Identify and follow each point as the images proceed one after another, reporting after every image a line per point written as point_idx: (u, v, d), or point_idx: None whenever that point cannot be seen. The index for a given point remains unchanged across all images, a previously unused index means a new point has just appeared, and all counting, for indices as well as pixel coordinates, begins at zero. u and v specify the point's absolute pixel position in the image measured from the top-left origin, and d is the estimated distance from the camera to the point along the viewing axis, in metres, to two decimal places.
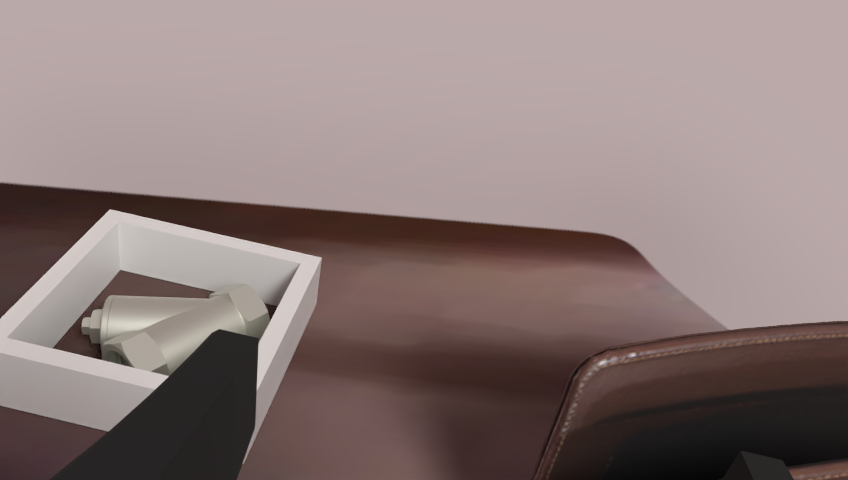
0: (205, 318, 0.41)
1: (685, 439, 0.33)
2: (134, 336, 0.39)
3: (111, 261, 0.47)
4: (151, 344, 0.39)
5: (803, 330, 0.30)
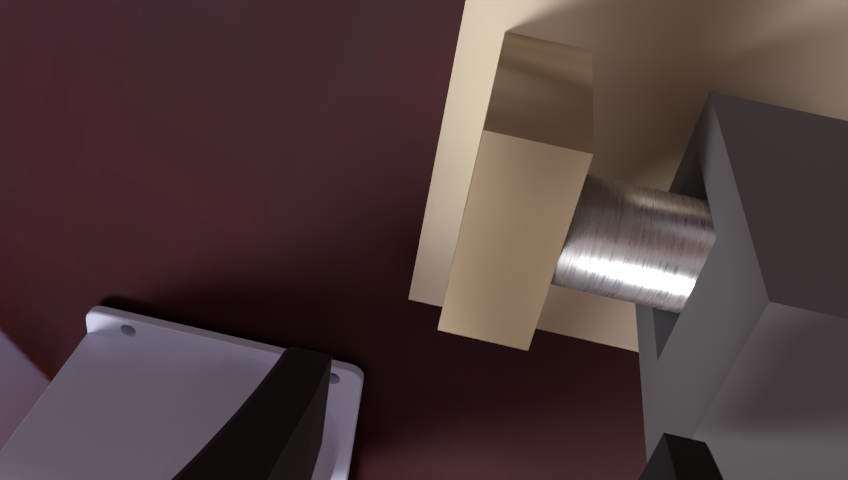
0: None
1: None
2: None
3: None
4: None
5: None
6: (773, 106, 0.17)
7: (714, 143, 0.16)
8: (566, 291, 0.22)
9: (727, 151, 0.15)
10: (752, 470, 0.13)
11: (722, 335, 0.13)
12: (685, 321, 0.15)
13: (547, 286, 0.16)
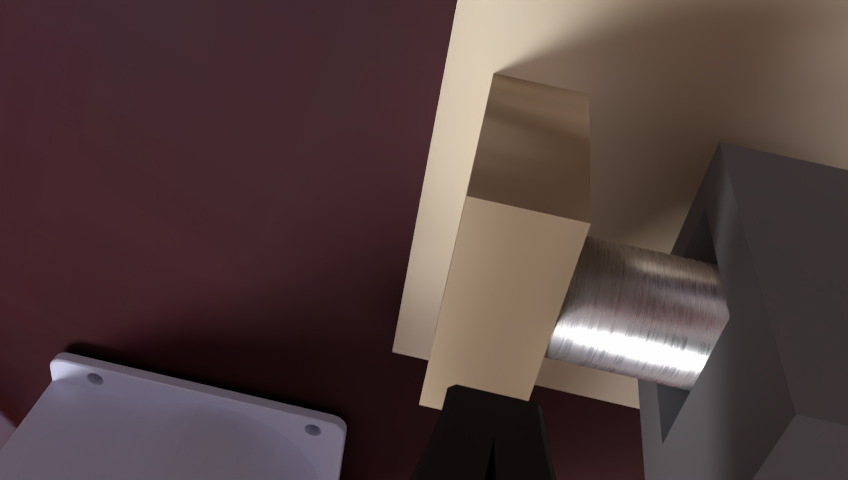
0: None
1: None
2: None
3: None
4: None
5: None
6: (789, 159, 0.15)
7: (725, 203, 0.14)
8: None
9: (741, 216, 0.13)
10: None
11: (739, 438, 0.11)
12: (694, 406, 0.13)
13: (540, 362, 0.14)
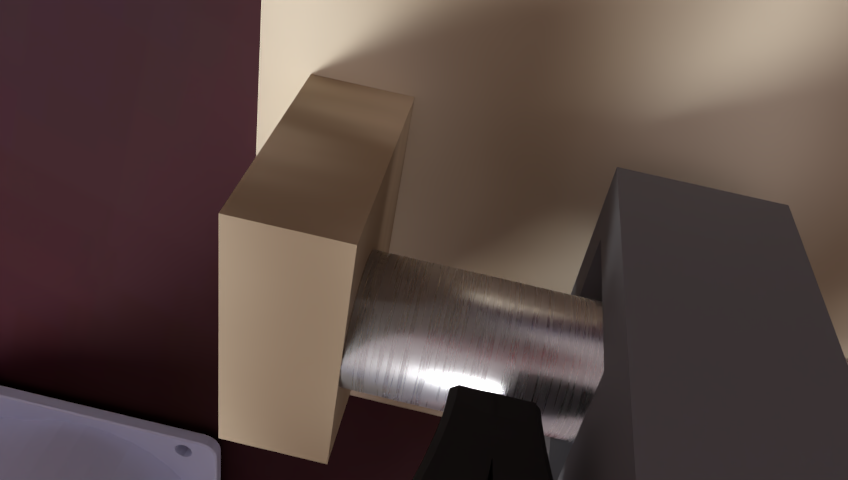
0: None
1: None
2: None
3: None
4: None
5: None
6: (694, 186, 0.14)
7: (614, 238, 0.13)
8: None
9: (623, 256, 0.12)
10: None
11: None
12: (571, 468, 0.12)
13: (334, 394, 0.13)
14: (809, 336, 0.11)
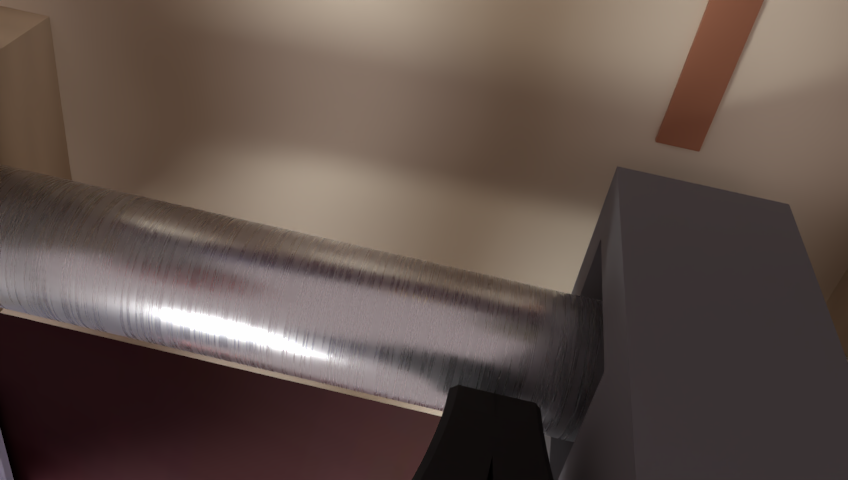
0: None
1: None
2: None
3: None
4: None
5: None
6: (694, 185, 0.14)
7: (614, 237, 0.13)
8: None
9: (623, 255, 0.12)
10: None
11: None
12: (571, 468, 0.12)
13: None
14: (810, 335, 0.11)
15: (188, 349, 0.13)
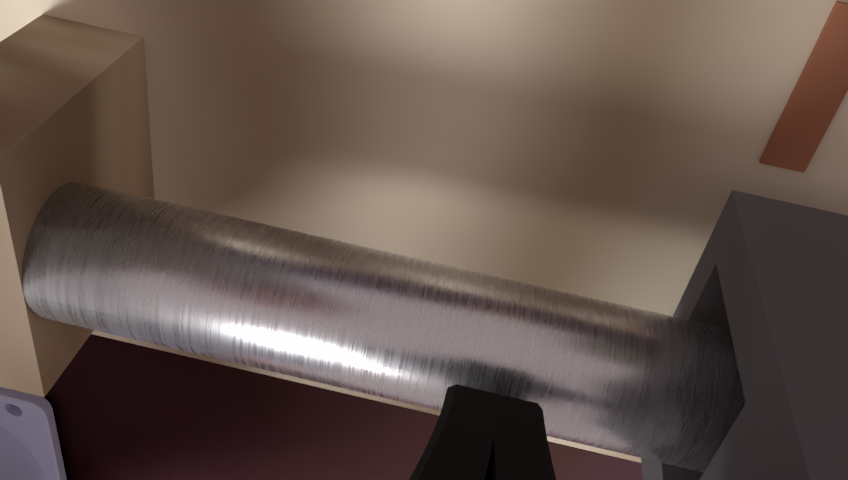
0: None
1: None
2: None
3: None
4: None
5: None
6: (811, 209, 0.13)
7: (740, 264, 0.12)
8: None
9: (758, 284, 0.12)
10: None
11: None
12: None
13: (26, 322, 0.13)
14: None
15: (298, 375, 0.13)
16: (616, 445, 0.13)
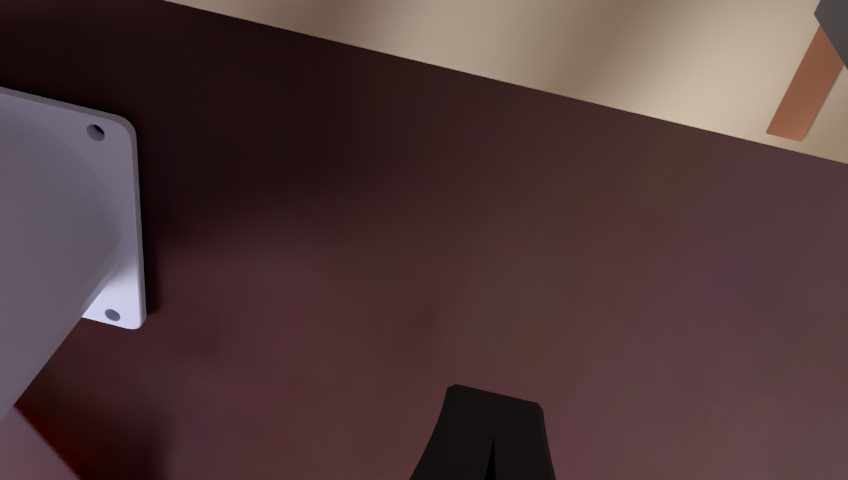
0: None
1: None
2: None
3: None
4: None
5: None
6: None
7: None
8: None
9: None
10: None
11: None
12: None
13: None
14: None
15: None
16: None
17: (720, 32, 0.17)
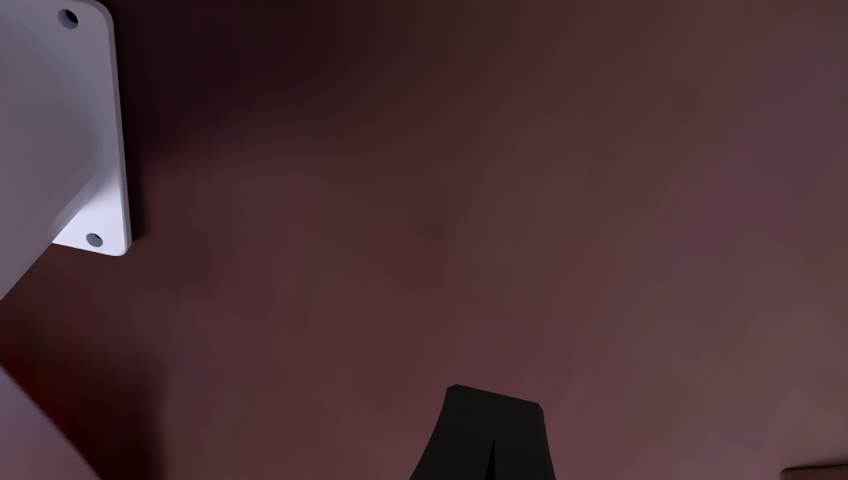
0: None
1: None
2: None
3: None
4: None
5: None
6: None
7: None
8: None
9: None
10: None
11: None
12: None
13: None
14: None
15: None
16: None
17: None
